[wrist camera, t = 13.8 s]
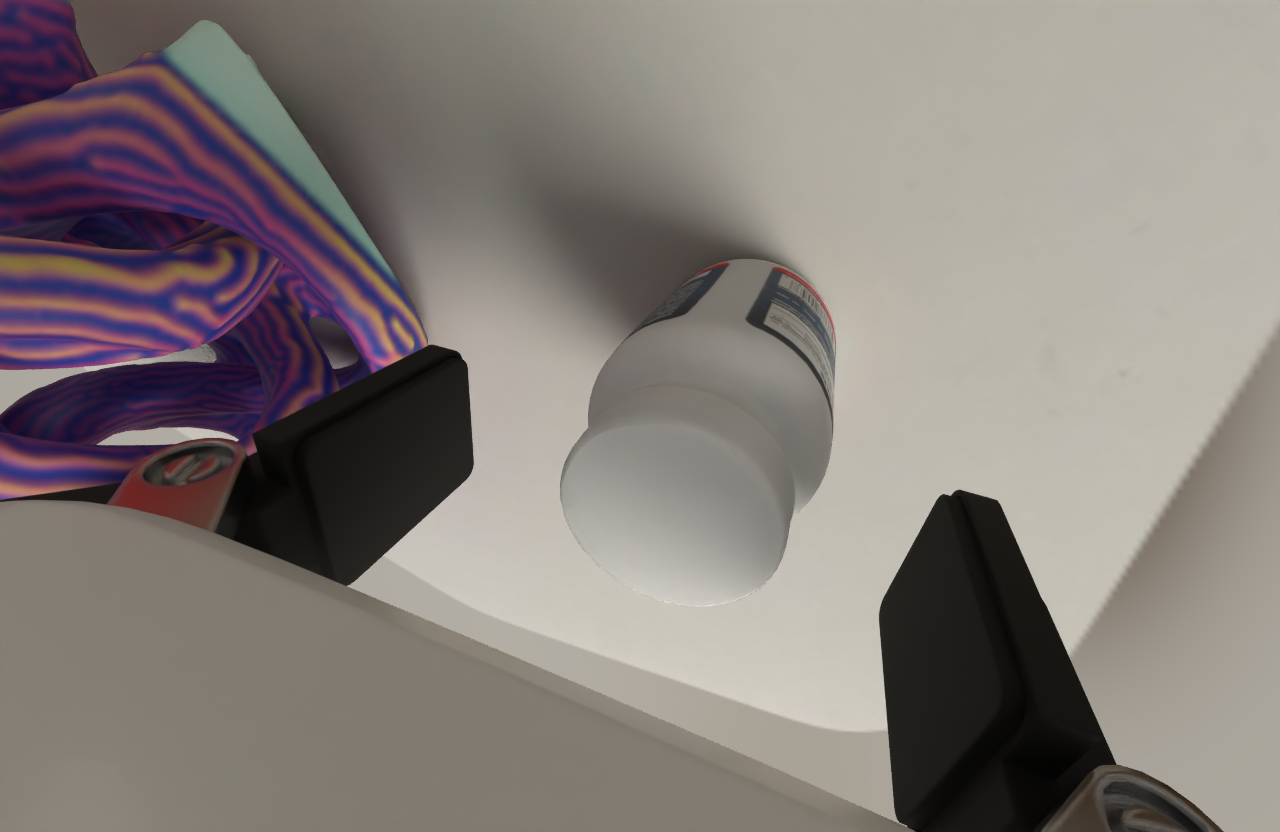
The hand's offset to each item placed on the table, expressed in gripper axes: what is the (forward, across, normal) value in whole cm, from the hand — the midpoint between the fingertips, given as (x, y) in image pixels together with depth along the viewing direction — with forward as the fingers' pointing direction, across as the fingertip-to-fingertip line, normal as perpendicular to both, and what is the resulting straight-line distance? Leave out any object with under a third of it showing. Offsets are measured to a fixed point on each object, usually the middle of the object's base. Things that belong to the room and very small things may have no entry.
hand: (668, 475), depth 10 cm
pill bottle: (+7, 0, 0) cm, 8 cm away
